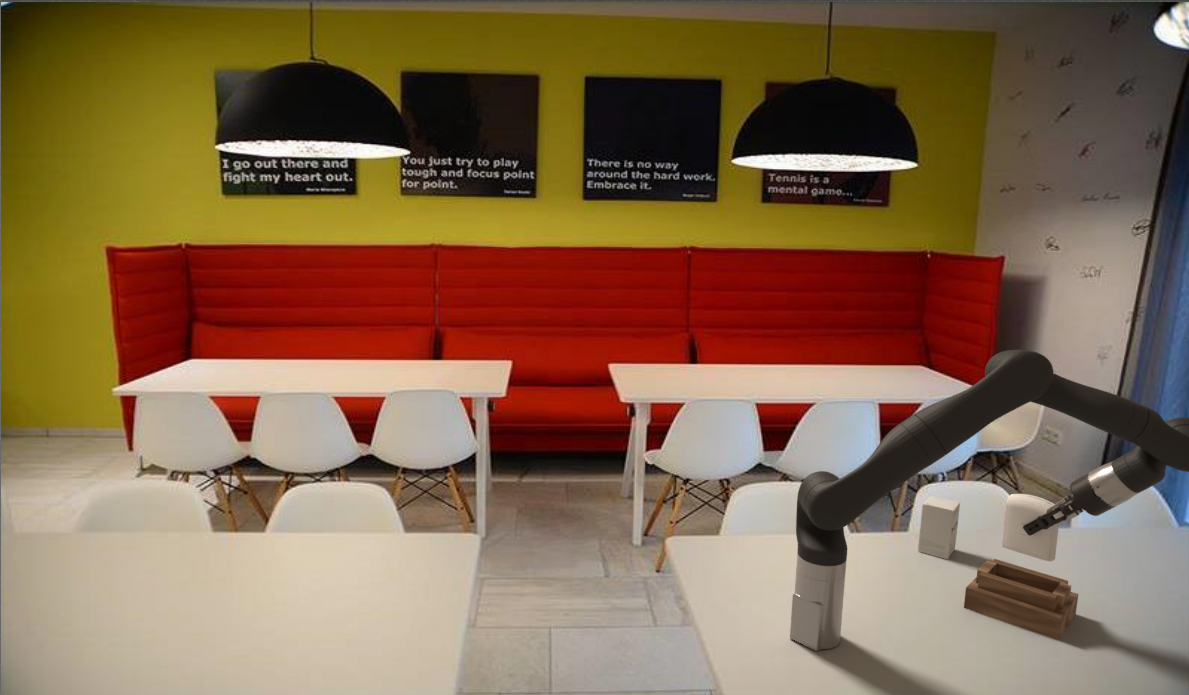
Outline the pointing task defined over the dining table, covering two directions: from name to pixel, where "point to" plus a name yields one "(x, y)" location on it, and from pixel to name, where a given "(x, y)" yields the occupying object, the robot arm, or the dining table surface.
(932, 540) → the supplement box
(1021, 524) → the photo printer
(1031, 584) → the wooden holder
